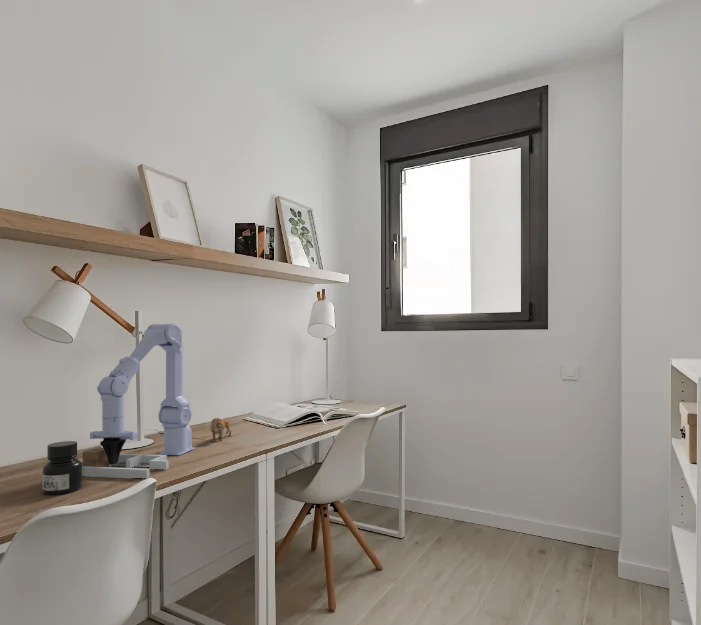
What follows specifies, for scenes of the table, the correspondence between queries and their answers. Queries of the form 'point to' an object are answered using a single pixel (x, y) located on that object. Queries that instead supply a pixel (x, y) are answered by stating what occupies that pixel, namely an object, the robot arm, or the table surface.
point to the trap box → (128, 466)
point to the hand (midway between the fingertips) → (113, 463)
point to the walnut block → (95, 458)
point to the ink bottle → (62, 469)
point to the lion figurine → (219, 428)
